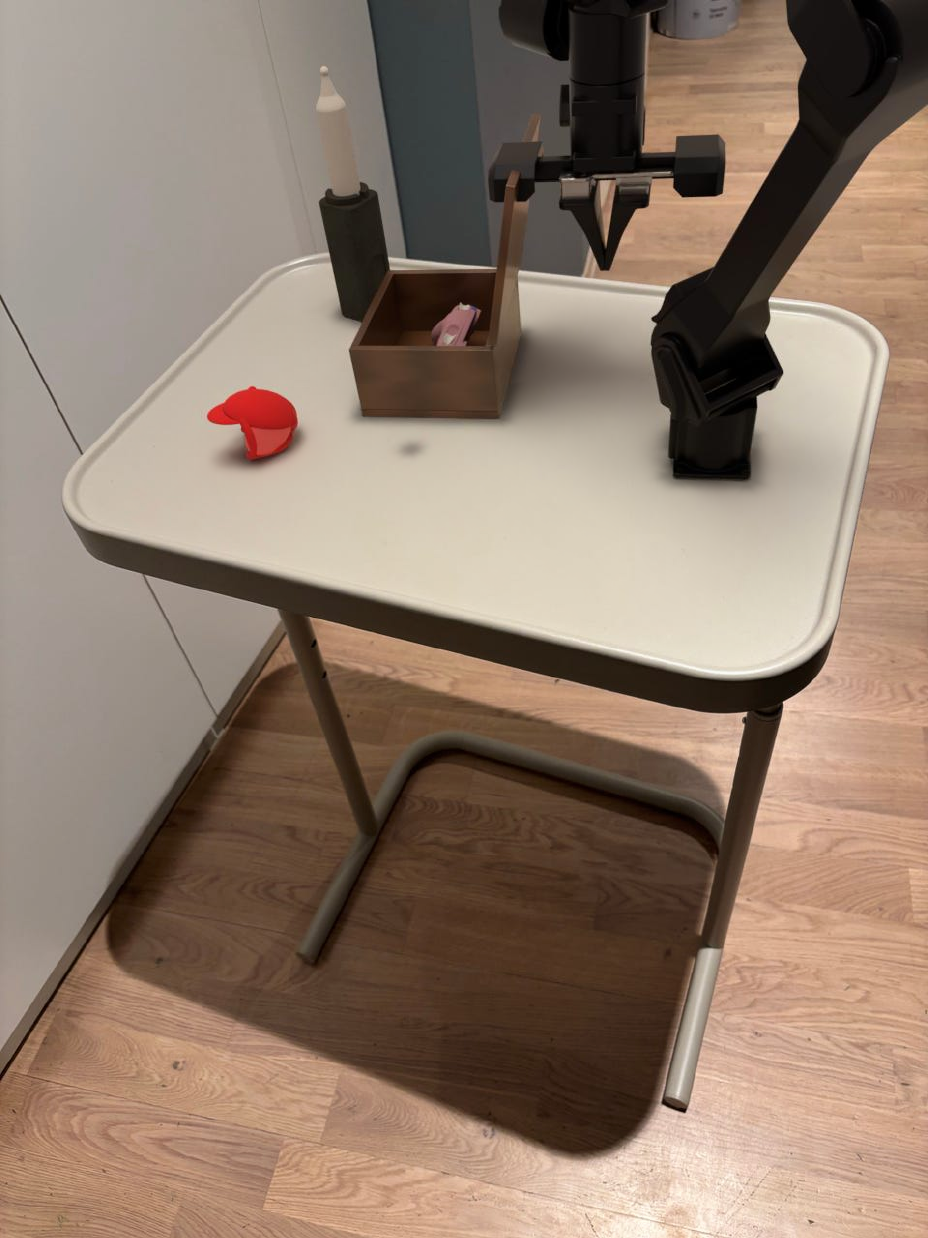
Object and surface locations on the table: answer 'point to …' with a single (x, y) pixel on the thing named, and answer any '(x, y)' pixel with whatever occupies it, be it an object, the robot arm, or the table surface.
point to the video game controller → (456, 326)
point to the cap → (258, 419)
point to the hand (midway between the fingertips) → (605, 268)
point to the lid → (510, 242)
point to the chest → (433, 347)
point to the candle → (349, 211)
